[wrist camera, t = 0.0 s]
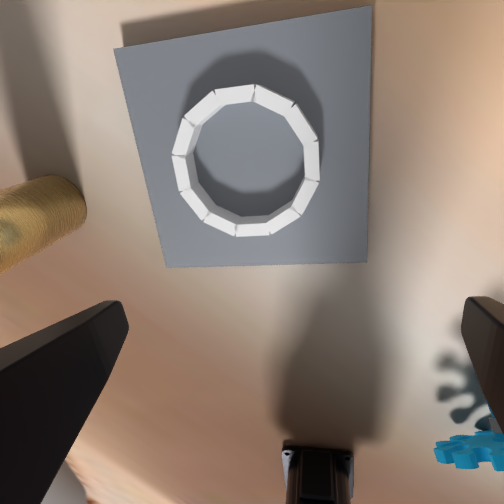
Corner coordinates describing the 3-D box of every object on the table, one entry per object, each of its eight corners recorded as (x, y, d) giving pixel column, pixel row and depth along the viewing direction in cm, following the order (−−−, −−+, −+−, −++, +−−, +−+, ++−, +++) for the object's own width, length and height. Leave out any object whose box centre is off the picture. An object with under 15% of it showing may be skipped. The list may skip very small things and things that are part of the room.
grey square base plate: (364, 254, 24) (369, 273, 21) (172, 260, 26) (158, 278, 24) (368, 10, 18) (376, -3, 15) (123, 51, 21) (98, 46, 18)
